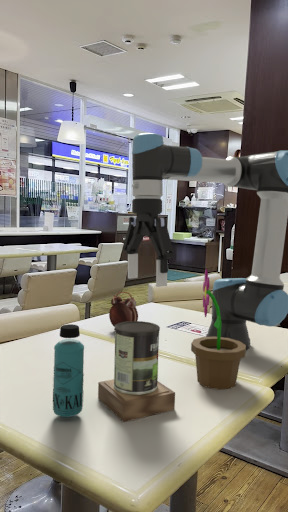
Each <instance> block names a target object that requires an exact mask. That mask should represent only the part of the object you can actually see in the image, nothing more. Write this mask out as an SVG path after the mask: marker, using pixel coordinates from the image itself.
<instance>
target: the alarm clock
mask: <svg viewBox="0 0 288 512" xmlns="http://www.w3.org/2000/svg"><path fill="white" fill-rule="evenodd" d="M119 294H127V295H129V297H128V298H122V297H121V296H119ZM110 303H111V307H110V309H109V311H108V312H109V313H108V316H109V321H110V323H111V325H112V326H113V327H114V329H113V330H114V331H115V325H116V324H118V323H122V322H128V321H138V319H139V311H138V309H137V307H136V306H137V301H136V299H135V298H134V297H132V294H131V293H129V292H127V291H119V292H117V293H116V295H115V294H114V295H113V297H112V298H111V300H110Z"/></svg>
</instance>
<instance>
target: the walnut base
mask: <svg viewBox="0 0 288 512" xmlns="http://www.w3.org/2000/svg"><path fill="white" fill-rule="evenodd" d="M97 384H98V387H97V388H98V390H97V391H98V392H97V399H98V400H99V401H100V402H102V403H103V405H104V406H105V407H106V408H107V409H108V410H110V411H111V412H112V413H113V414H114V415H115V416H117V418H118V419H119V420H121V421H122V422H123V423H127V422H131V421H134V420H140V419H142V418H146V417H150V416H154V415H159V414H162V413H167V412H171V411H175V409H176V407H175V406H176V392H175V391H173V390H172V389H171V388H169V387H168V386H166V385H164V384H163V383H162V382H160V381H158V380H157V385H158V388H157V389H156V390H155V391H154V392H152V393H149V394H144V395H130V394H124V393H121V392H119V391H117V390H116V389H115V388H114V378H113V379H108V380H104V381H99V382H98V383H97Z"/></svg>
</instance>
